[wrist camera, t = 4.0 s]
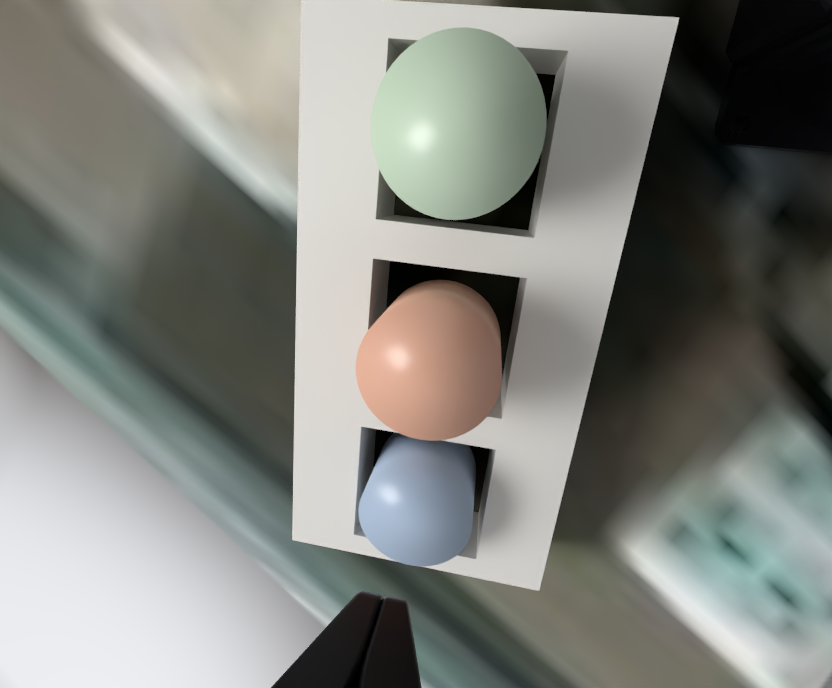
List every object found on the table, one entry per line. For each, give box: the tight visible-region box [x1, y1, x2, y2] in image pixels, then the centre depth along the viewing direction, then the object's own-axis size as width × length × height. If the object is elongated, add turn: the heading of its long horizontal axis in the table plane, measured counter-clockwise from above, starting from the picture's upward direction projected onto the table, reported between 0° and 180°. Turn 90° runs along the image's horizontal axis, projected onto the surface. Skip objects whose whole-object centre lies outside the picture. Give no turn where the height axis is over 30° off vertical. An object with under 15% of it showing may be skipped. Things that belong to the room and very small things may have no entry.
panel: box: [292, 0, 679, 591], centre depth 15 cm, size 9×17×2 cm, turn 174°
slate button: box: [359, 432, 476, 566], centre depth 16 cm, size 4×4×3 cm
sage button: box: [371, 27, 547, 220], centre depth 11 cm, size 4×4×3 cm
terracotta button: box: [356, 280, 502, 441], centre depth 13 cm, size 4×4×3 cm
